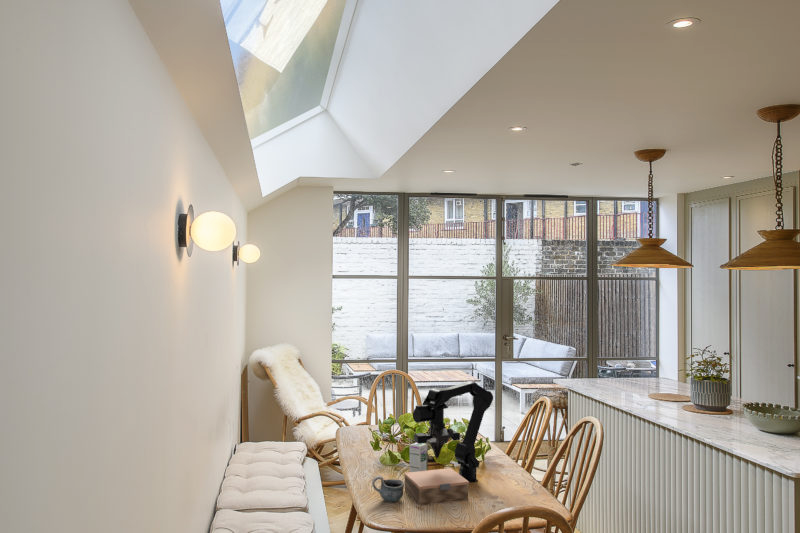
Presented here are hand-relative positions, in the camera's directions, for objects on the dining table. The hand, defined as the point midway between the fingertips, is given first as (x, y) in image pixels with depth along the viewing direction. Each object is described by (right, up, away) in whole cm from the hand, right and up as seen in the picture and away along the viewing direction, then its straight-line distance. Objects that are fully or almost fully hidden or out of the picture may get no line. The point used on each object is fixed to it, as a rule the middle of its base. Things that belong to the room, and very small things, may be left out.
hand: (436, 457), depth 254 cm
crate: (-1, -12, -10) cm, 15 cm away
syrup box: (-7, -13, +12) cm, 19 cm away
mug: (-20, -12, -17) cm, 29 cm away
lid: (-1, -6, -10) cm, 12 cm away
